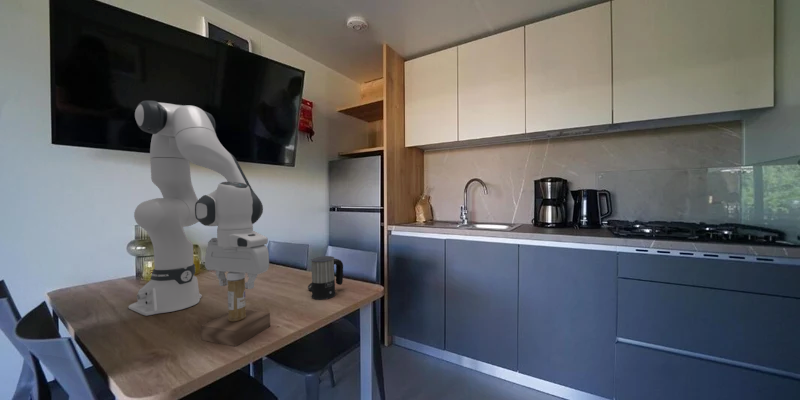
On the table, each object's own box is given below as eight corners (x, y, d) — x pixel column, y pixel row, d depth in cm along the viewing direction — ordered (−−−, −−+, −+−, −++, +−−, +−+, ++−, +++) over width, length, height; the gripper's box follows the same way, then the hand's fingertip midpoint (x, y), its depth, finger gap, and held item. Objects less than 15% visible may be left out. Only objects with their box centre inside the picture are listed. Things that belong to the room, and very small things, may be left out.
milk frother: (326, 301, 105) (325, 261, 105) (292, 296, 110) (291, 258, 110) (346, 289, 118) (346, 254, 118) (315, 286, 124) (315, 252, 124)
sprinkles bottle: (246, 319, 80) (245, 272, 80) (227, 323, 78) (226, 274, 78) (245, 314, 84) (244, 268, 84) (227, 317, 82) (226, 271, 82)
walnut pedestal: (201, 339, 77) (201, 325, 77) (239, 321, 88) (238, 308, 88) (235, 346, 73) (235, 331, 73) (270, 326, 85) (269, 312, 85)
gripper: (198, 239, 81) (198, 287, 81) (254, 241, 75) (255, 293, 75) (218, 236, 87) (219, 281, 87) (272, 238, 81) (273, 286, 81)
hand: (236, 287), depth 81 cm, fingers open, 8 cm apart
